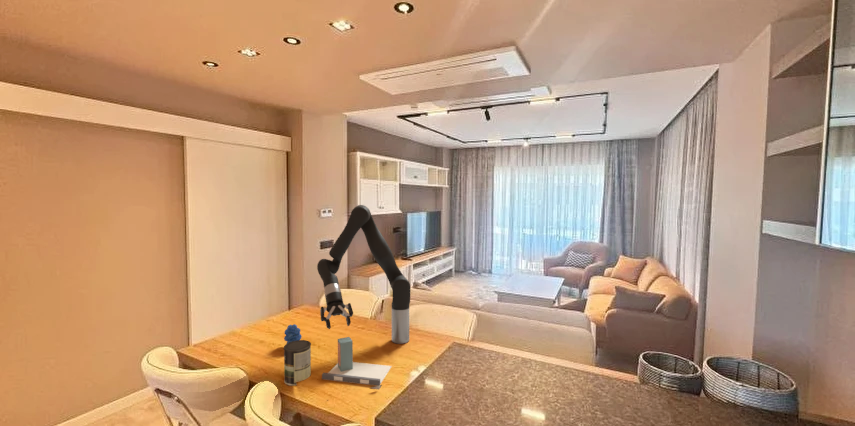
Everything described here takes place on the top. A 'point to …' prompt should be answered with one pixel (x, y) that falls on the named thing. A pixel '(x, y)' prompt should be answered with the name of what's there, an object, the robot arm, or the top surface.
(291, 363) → the coffee can
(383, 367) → the shelf
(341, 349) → the carton
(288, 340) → the grapes
